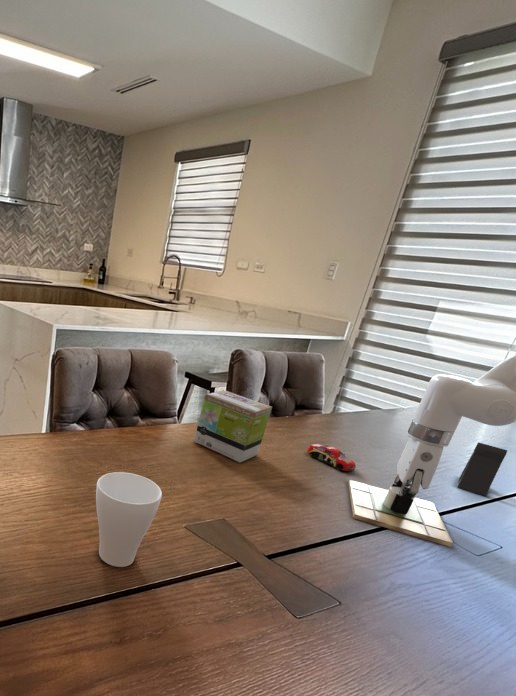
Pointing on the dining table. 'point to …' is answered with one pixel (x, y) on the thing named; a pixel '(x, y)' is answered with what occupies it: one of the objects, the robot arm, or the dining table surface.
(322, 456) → the race car
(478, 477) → the phone stand
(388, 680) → the dining table surface
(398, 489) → the white cylinder puck
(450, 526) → the dining table surface
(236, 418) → the tea box
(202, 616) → the dining table surface
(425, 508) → the board
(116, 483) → the cup
